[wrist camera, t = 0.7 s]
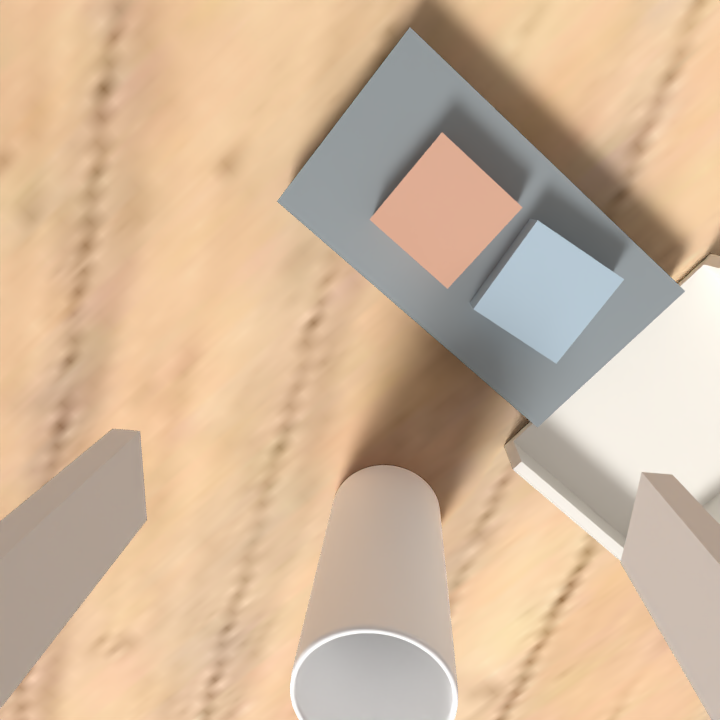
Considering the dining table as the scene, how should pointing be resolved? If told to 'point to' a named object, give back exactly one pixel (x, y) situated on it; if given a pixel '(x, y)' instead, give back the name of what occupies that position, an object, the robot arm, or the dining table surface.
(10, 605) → the robot arm
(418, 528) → the cup
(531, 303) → the blue tile
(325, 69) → the dining table surface
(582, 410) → the box
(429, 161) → the terracotta tile
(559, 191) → the board
